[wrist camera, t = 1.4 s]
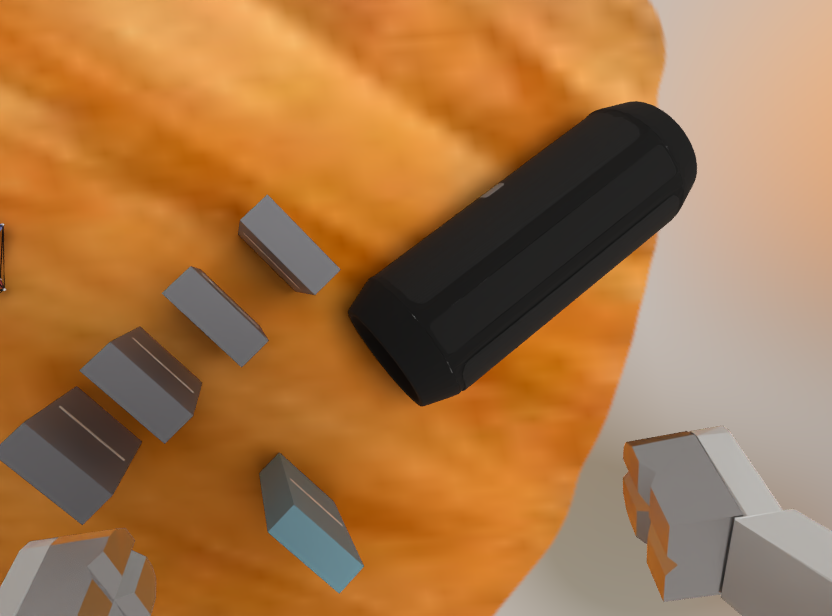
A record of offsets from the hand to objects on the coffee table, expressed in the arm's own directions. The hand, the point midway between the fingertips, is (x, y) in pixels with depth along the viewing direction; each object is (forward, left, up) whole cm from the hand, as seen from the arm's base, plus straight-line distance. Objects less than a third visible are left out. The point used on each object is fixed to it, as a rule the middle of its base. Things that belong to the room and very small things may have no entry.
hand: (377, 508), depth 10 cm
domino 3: (-3, +1, -36) cm, 36 cm away
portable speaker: (+16, +10, -36) cm, 41 cm away
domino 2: (-6, -4, -36) cm, 37 cm away
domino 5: (+5, -11, -36) cm, 38 cm away
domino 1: (-9, -8, -36) cm, 38 cm away
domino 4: (0, +6, -36) cm, 36 cm away
